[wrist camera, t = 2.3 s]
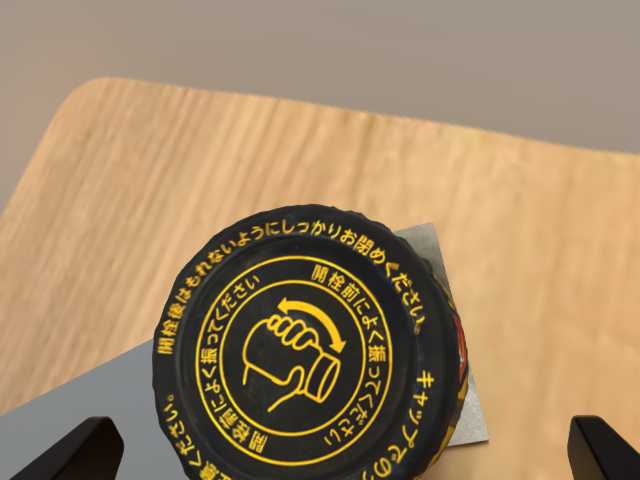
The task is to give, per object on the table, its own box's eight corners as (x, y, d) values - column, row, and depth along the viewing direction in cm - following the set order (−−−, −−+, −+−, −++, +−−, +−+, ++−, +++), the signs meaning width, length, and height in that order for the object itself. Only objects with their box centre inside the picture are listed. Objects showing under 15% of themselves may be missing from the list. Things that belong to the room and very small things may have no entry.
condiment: (297, 469, 18) (99, 626, 7) (268, 261, 21) (87, 125, 9) (488, 438, 17) (626, 565, 6) (432, 224, 20) (452, 23, 8)
